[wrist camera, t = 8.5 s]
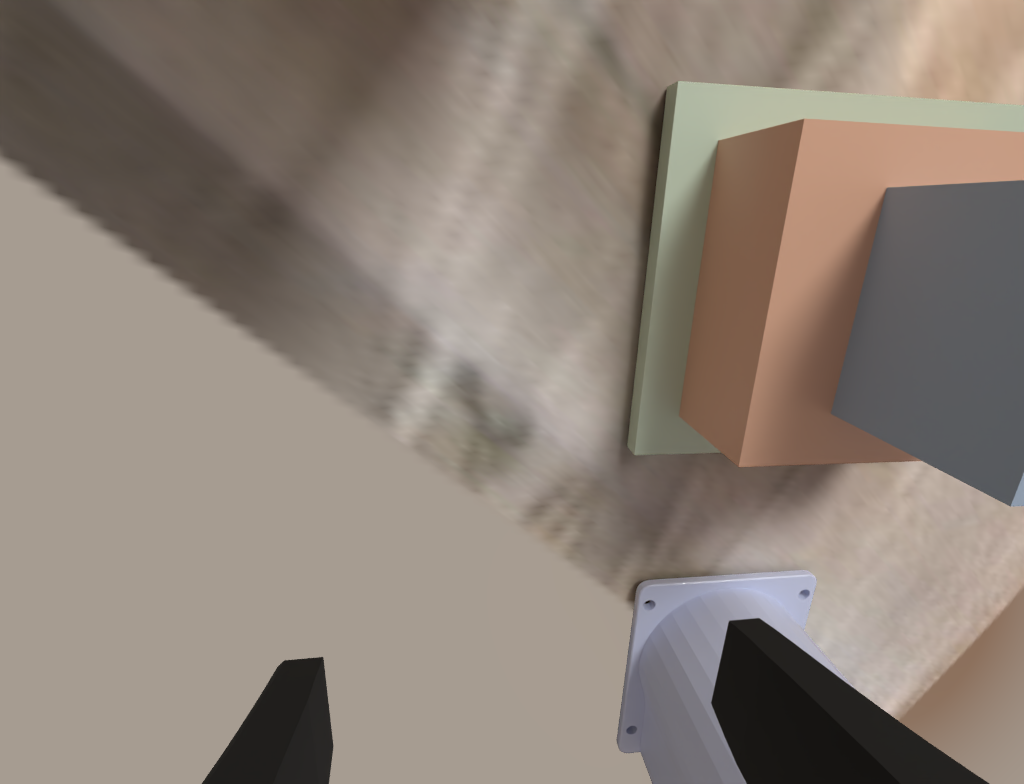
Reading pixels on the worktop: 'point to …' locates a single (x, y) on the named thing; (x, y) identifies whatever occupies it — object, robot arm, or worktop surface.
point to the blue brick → (944, 333)
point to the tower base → (687, 214)
